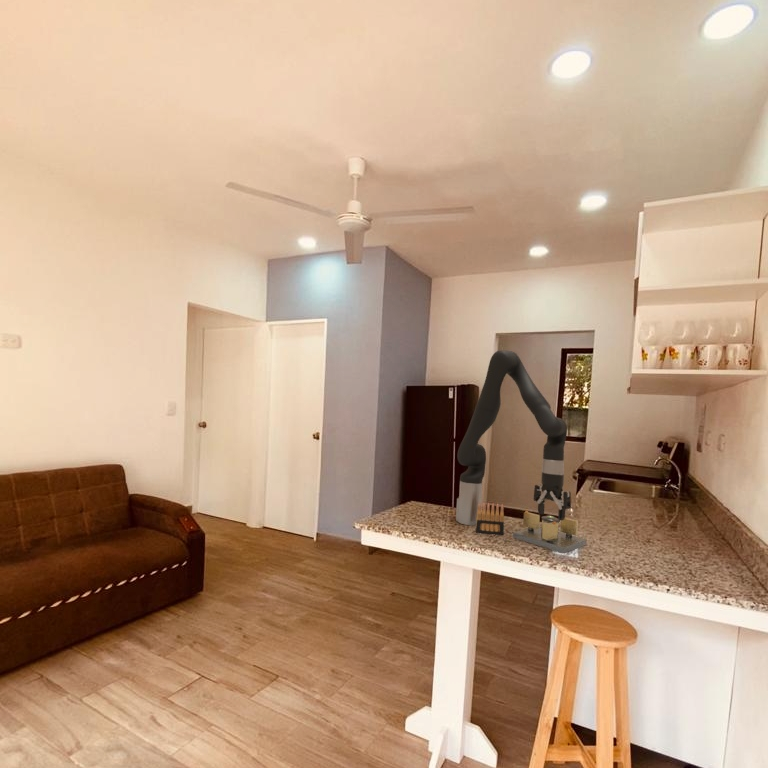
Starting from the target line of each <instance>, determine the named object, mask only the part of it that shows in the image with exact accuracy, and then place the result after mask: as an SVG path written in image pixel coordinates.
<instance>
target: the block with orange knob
mask: <svg viewBox="0 0 768 768" xmlns="http://www.w3.org/2000/svg"><path fill="white" fill-rule="evenodd" d="M540 517H541V514H537V513H532V512H529V511H528V510H525V512H523V521H522V522H523V525H522V526H524V527H526V528H527V529H528V530H529V531H534V529H539V527H540Z"/></svg>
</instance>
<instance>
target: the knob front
mask: <svg viewBox="0 0 768 768" xmlns="http://www.w3.org/2000/svg"><path fill="white" fill-rule="evenodd" d="M558 532H559V529H558V524H556V522H555V521H554V522H552V523H545V524H543V531H542V538H543V539H546V541H547V542H549V543H553V539H557V537H558Z"/></svg>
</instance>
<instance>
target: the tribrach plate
mask: <svg viewBox="0 0 768 768" xmlns="http://www.w3.org/2000/svg"><path fill="white" fill-rule="evenodd" d="M554 521H555V522H556V524H558V530H559V529H560V527H559V526H560V525H559V524H560V520H558V518H557V517H555V516H553V515H545V516H541V526H539V529H534V531H529V530H528V528H525V529H521V530H517V531H513V532H512V538H513V539H517V540H519V541H523V542H526V543H529V544H532V545H536V546H538V547H541V546H542V547H541V548H545V549H549V550H552V551H554V550H555V551H554V552H557V551H558V552H557V553H561V554H566V553H568V552H571V551H574V550H576V549H579V548H583V547H585V546H587V545H588V544H587V541H588V540H587V539H586V538H582V537H580V536H576V535H572V537H567V536H566V533H563V532H561V531H558V537H557V539H553V543H549V542H547V541H546V539H543V538H542V531H543V524H545V523H552V522H554Z"/></svg>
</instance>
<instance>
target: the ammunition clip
mask: <svg viewBox="0 0 768 768" xmlns="http://www.w3.org/2000/svg"><path fill="white" fill-rule="evenodd" d="M504 511H505V510H504V504H503V503H502V504H501V505H500V504H499V503H497V504H496V506H495V504H494V502H492V504H491V505H490V502H488V503H487V504H486V503H485V502H484V501H483V503H481V504H480V502H479V504H478V511H477V520H476V525H475V534H480V533H481V535H492V534H495V535H494V536H496V535H497V536H505V535H504V534H505V533H504V532H505V530H504V528H505V527H504V524H505V523H504V521H505V520H504V519H505V514H504V513H505V512H504Z"/></svg>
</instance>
